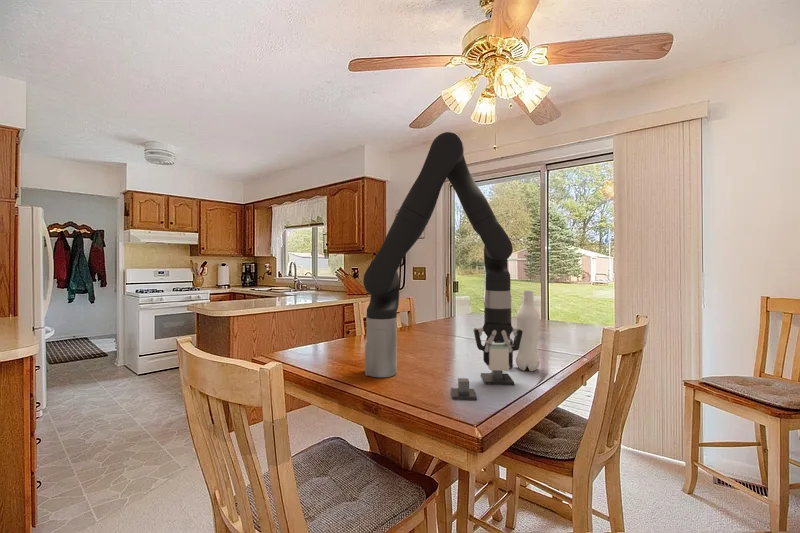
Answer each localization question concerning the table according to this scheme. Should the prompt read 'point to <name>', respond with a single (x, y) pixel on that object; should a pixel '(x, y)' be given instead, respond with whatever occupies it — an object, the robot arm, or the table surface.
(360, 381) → the table surface
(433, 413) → the table surface
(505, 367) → the cream upright block
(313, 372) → the table surface
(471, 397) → the short post
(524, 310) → the water bottle
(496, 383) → the tall post
